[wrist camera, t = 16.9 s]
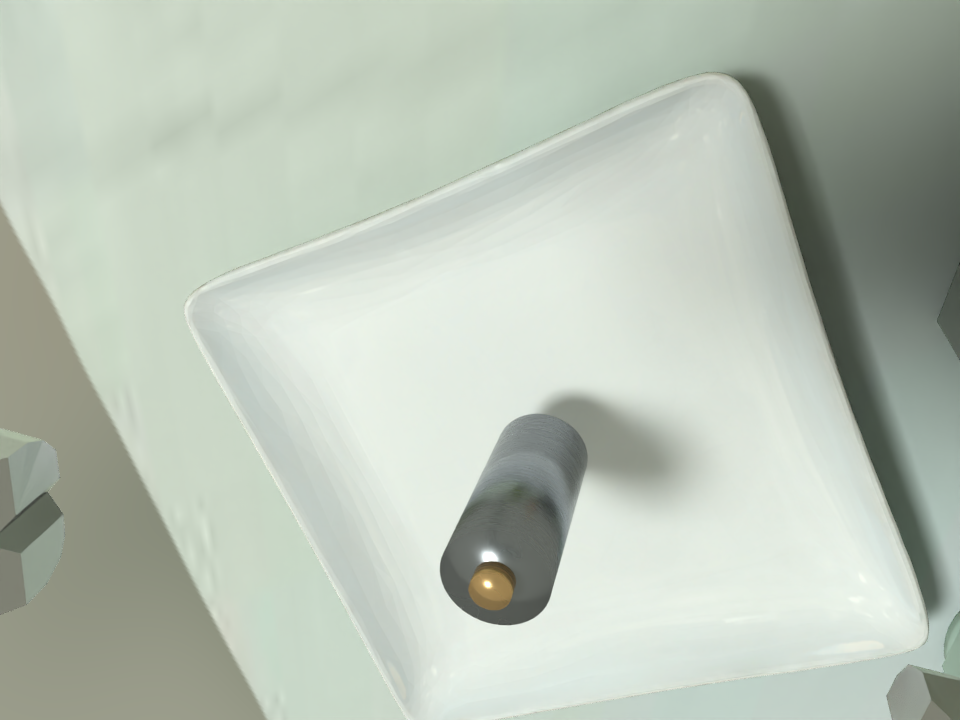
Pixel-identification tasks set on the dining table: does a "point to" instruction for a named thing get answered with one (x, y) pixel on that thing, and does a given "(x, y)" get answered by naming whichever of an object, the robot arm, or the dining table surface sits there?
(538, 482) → the cell
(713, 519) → the salad plate
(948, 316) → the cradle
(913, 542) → the dining table surface
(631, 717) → the dining table surface
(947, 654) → the cup
